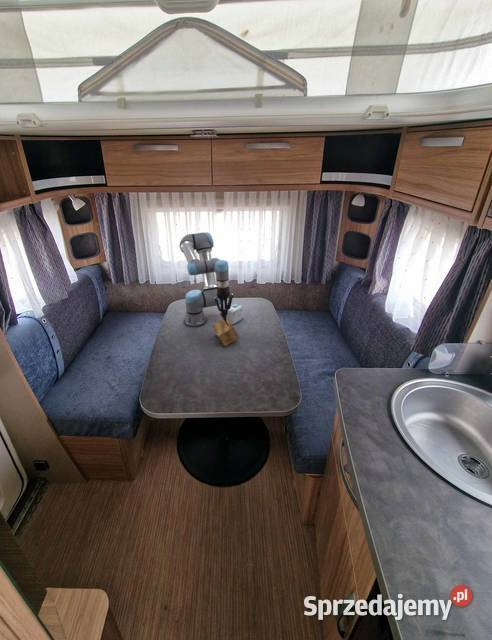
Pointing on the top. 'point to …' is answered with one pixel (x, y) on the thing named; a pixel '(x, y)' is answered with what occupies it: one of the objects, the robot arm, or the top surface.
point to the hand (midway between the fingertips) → (224, 319)
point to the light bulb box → (234, 313)
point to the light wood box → (225, 331)
